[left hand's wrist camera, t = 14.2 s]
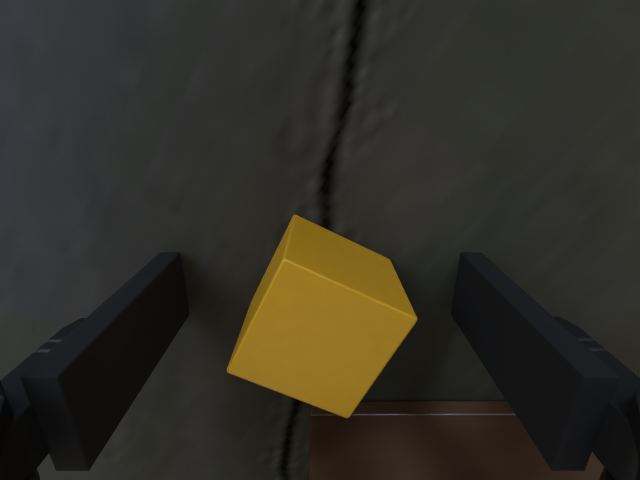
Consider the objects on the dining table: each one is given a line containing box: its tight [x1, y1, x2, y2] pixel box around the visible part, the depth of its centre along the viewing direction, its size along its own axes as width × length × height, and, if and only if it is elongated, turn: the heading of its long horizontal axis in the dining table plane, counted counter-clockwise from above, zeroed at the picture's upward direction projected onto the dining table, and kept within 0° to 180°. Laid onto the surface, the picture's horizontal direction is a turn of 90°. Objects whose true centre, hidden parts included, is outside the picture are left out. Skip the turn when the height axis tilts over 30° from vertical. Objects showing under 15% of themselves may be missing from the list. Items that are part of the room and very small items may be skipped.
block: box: [227, 215, 417, 418], centre depth 12 cm, size 4×4×4 cm
